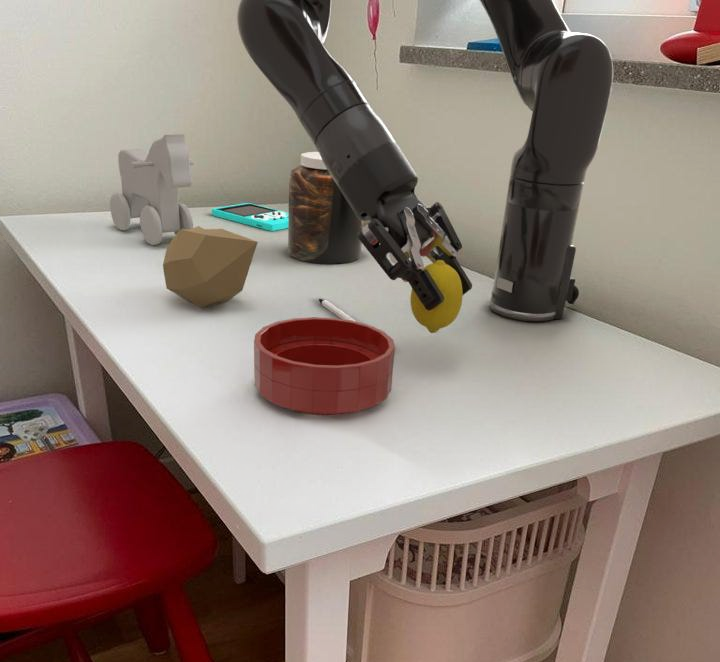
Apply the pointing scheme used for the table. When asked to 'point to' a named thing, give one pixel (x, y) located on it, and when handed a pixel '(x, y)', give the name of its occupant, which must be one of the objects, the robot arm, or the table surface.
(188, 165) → the pony
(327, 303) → the pen
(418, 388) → the table surface
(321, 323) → the bowl
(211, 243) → the low-poly potato
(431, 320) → the lemon
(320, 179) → the jar
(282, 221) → the handheld game console
